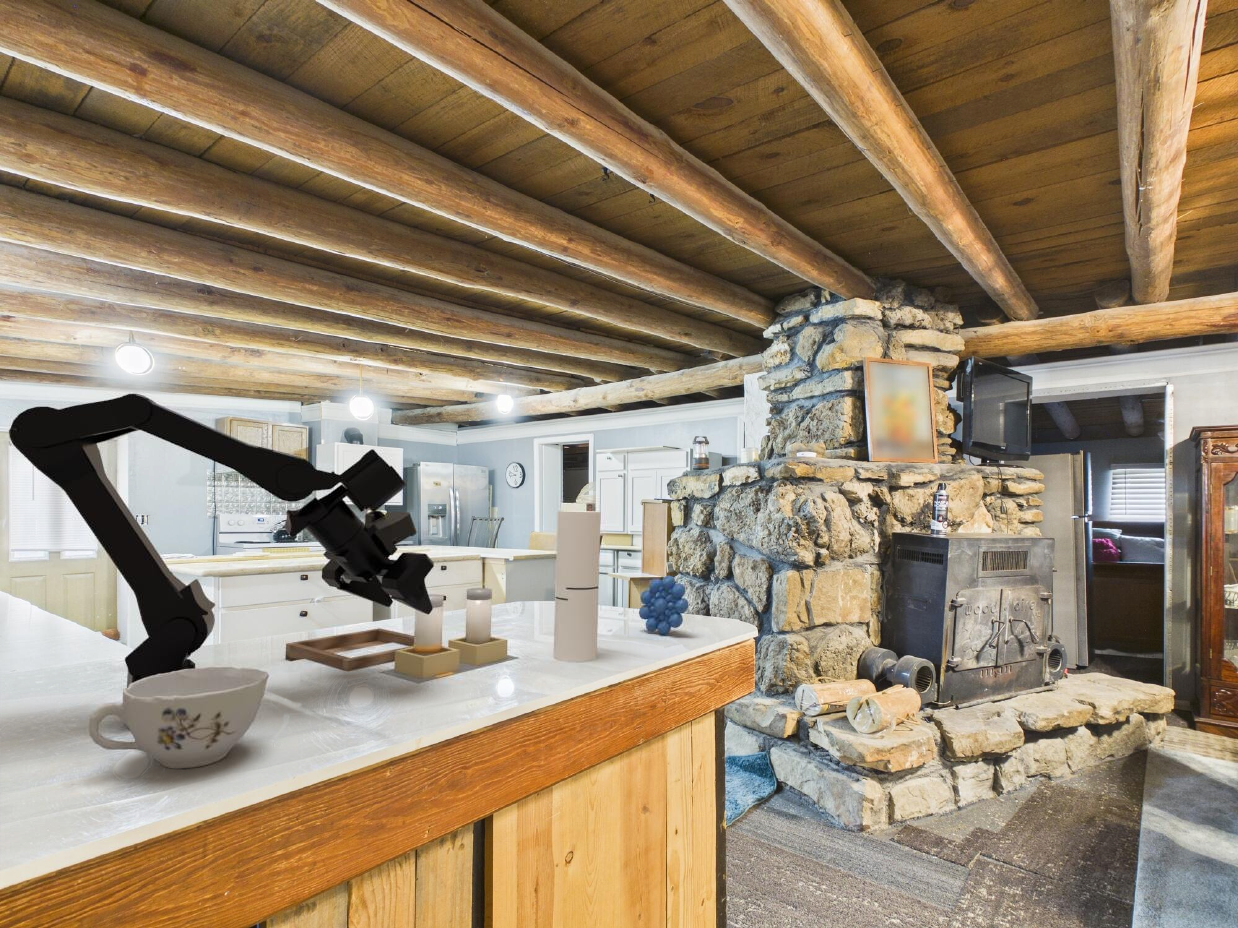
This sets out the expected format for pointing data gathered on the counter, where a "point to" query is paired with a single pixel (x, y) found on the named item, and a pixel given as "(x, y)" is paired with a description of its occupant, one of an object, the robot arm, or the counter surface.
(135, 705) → the teacup
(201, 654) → the counter surface
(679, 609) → the grapes
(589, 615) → the cylindrical container
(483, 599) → the cylinder
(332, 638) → the tray
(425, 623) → the ball
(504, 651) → the block
